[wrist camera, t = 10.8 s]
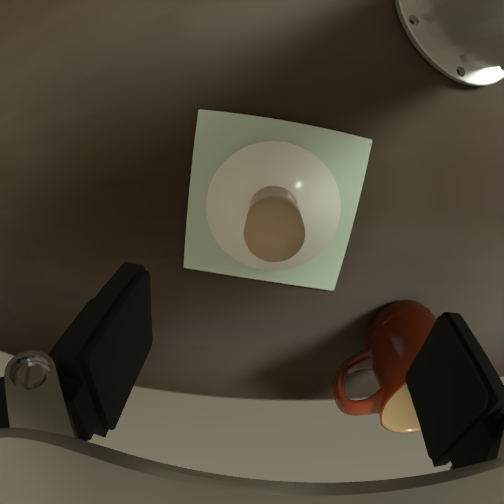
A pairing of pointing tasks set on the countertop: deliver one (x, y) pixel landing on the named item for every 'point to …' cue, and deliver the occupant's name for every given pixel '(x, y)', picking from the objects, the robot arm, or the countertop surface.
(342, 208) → the mat
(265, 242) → the lid
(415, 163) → the countertop surface
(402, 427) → the mug
